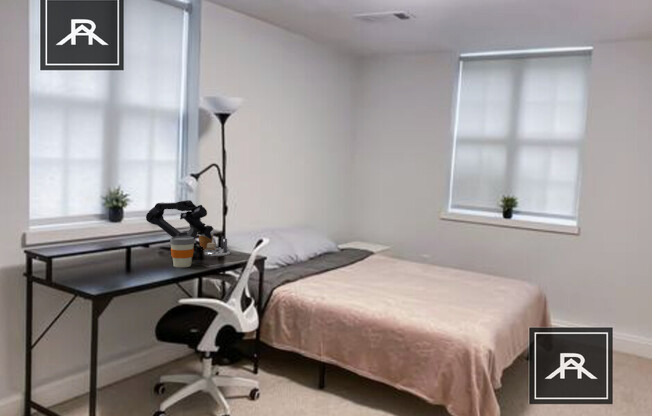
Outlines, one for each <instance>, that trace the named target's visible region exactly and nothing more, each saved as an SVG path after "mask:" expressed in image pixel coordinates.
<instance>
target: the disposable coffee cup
mask: <svg viewBox="0 0 652 416" xmlns="http://www.w3.org/2000/svg"><path fill="white" fill-rule="evenodd" d="M197 235H198V239H199V247H200V246H201V247H203V249H205V248H207V244H208V243H213V238H214V235H215V233H214V231H213V230H212V231H211V237H212V239H209V238H207V237H205V236H202V235H199V234H197Z"/></svg>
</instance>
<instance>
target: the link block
mask: <svg viewBox="0 0 652 416" xmlns="http://www.w3.org/2000/svg"><path fill="white" fill-rule="evenodd" d="M215 248H216V242H212V243H208V244H207V250H215Z"/></svg>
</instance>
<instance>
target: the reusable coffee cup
mask: <svg viewBox="0 0 652 416" xmlns="http://www.w3.org/2000/svg"><path fill="white" fill-rule="evenodd" d="M169 244H170V255H171V258H172V262H173V264H172V265H173V267H174V268H189V267H191V266H192V260H193V257H194V253H195V252H194V251H195V248H194V245H195V239H194V237H189V236H177V237H172V236H170V242H169Z"/></svg>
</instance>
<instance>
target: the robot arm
mask: <svg viewBox="0 0 652 416" xmlns="http://www.w3.org/2000/svg"><path fill="white" fill-rule="evenodd" d="M165 210H177V211H181V213H180V217H179V219H180V220H183V219H184V220H185V221H186V222H187V223H188V225H189V227H190V228H189V229H188V232H187V231H184V232H181V231H180V230H178V229H177V228H176V227H174V226H173V225H172V224H171V223H170V222H168V221H166V220H165V219H164V213H165ZM207 215H208V211H207V209H206V208H205V207H204V206H203V205H202V204H199V205H196V204H194V202H193V201H192V200H191V199H190V200H189V199H188V200H180V201H177V202H176V201H175V202H157V203H156V204H155V205H154V207H152V208H151V209H150V210H149V211H148V212H147V213H146V215H145V218H146V219H145V220H146V221H147V222H148V223H149V224H152V225H155V226H157V227H159V228H160V229H161V230H163V232H165V233H166V234H168V235H169V236H170V237H177V236H189V237H194V240H195V239H196V238H197V235H198V234H199V235H202V236H205V237H207V238H209V239H212V237H211V231H213V230H214V227H213V226H212V225H210V224H209V225H208V224H207V225H206V223H204V222H203V221H202V220H201V219H202V218H204V217H207ZM199 235H198V236H199ZM212 240H213V239H212Z"/></svg>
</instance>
